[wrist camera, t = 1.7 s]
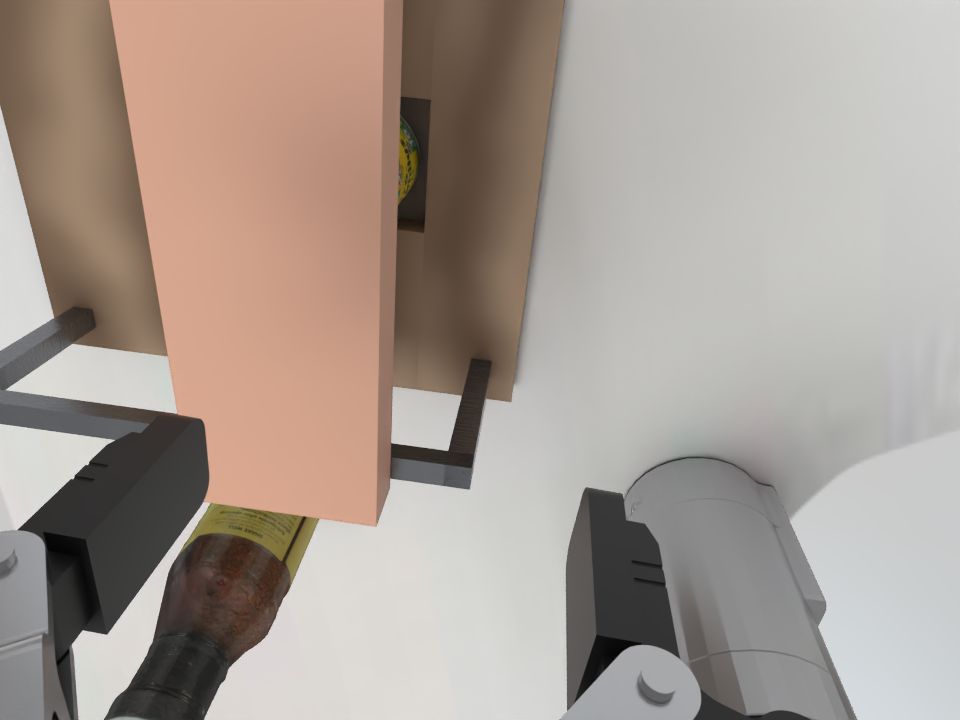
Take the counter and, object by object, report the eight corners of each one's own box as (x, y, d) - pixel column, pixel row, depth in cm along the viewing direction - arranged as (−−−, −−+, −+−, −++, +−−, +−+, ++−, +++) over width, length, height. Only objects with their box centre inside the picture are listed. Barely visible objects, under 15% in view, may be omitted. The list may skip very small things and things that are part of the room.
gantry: (543, -104, 27) (537, -159, 18) (490, 378, 38) (469, 489, 29) (-37, -158, 28) (-308, -234, 19) (77, 324, 39) (-61, 415, 30)
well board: (582, -133, 28) (583, -143, 26) (513, 384, 40) (511, 401, 38) (-40, -190, 29) (-78, -203, 27) (81, 328, 42) (60, 342, 40)
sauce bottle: (239, 426, 44) (32, 696, 27) (322, 409, 43) (160, 683, 25) (279, 499, 47) (114, 787, 30) (357, 486, 46) (233, 780, 28)
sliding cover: (408, -191, 18) (387, -219, 16) (389, 488, 29) (376, 526, 27) (127, -215, 18) (67, -246, 16) (218, 464, 30) (191, 500, 28)
